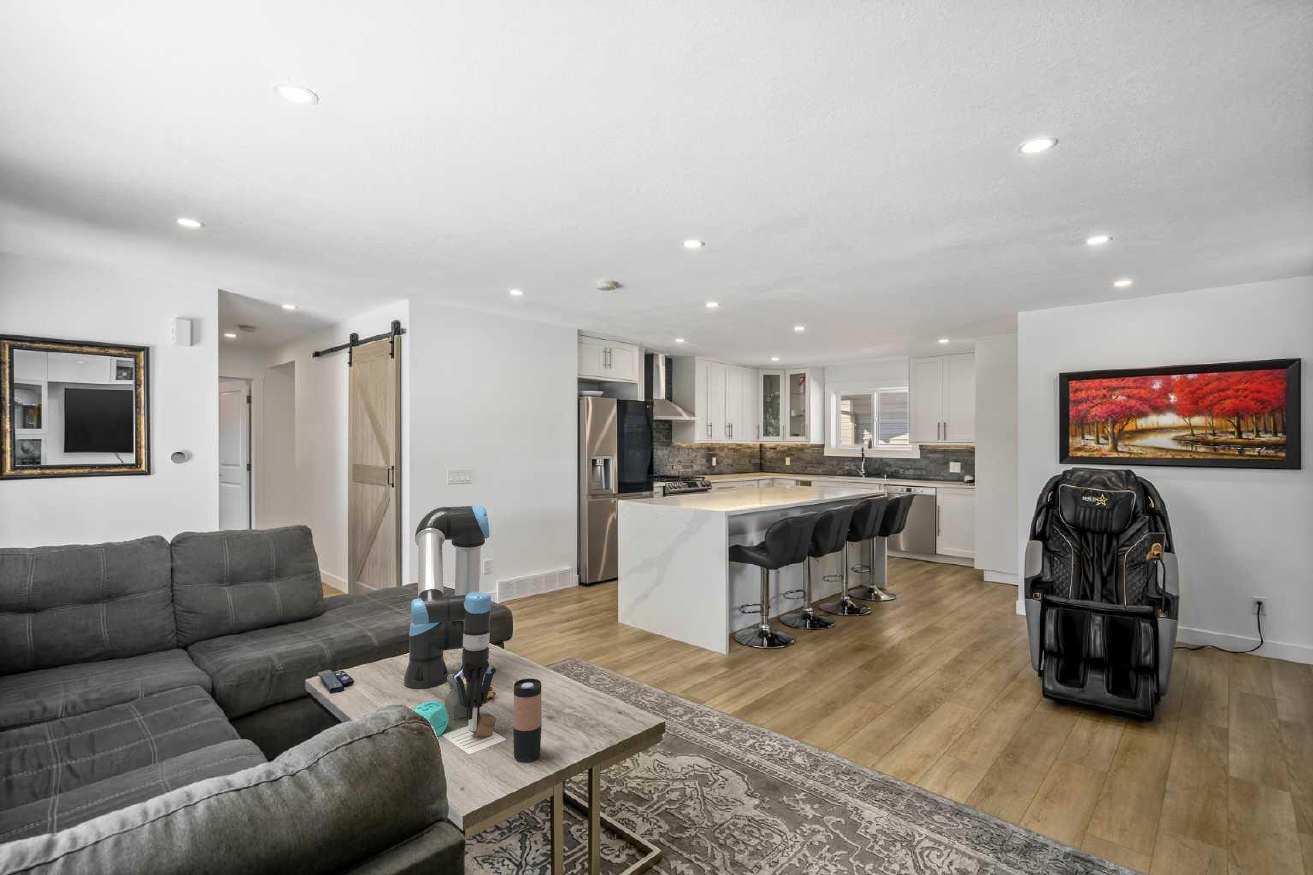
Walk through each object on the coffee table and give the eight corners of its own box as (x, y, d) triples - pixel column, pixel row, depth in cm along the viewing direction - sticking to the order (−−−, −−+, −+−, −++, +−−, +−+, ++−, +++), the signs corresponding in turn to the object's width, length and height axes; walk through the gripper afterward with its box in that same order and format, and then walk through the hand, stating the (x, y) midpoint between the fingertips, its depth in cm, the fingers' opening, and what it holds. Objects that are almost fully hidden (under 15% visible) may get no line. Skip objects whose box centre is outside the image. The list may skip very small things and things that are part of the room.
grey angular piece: (479, 720, 192) (479, 685, 192) (448, 725, 188) (449, 690, 188) (471, 700, 207) (471, 668, 207) (443, 705, 203) (443, 672, 203)
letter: (441, 735, 181) (441, 734, 181) (478, 722, 190) (478, 721, 190) (468, 754, 170) (468, 753, 170) (506, 740, 179) (506, 739, 179)
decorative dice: (448, 731, 184) (449, 705, 184) (426, 742, 177) (426, 714, 177) (431, 725, 188) (431, 699, 188) (408, 735, 182) (408, 708, 182)
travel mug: (515, 749, 173) (515, 678, 174) (542, 748, 174) (543, 677, 174) (511, 763, 166) (511, 689, 166) (539, 762, 166) (540, 688, 167)
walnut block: (468, 729, 181) (473, 712, 182) (483, 730, 185) (488, 712, 186) (477, 735, 178) (482, 717, 179) (491, 735, 181) (496, 717, 182)
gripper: (461, 653, 174) (458, 739, 172) (501, 646, 183) (498, 727, 181) (449, 648, 179) (445, 731, 178) (488, 640, 188) (485, 719, 186)
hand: (472, 729), depth 179 cm, fingers closed
